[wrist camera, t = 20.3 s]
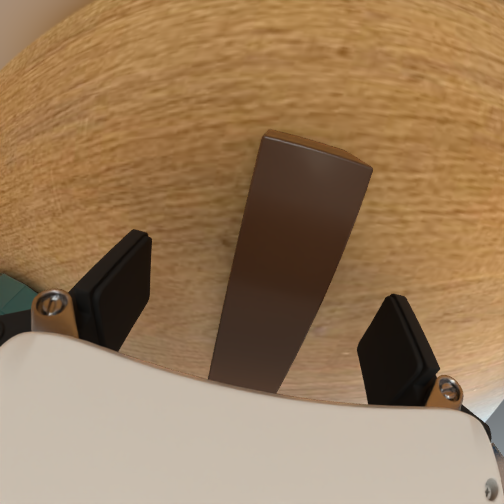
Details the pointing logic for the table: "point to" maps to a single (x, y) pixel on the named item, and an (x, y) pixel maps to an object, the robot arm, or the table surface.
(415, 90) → the table surface
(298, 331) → the brown wooden block
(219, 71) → the table surface
